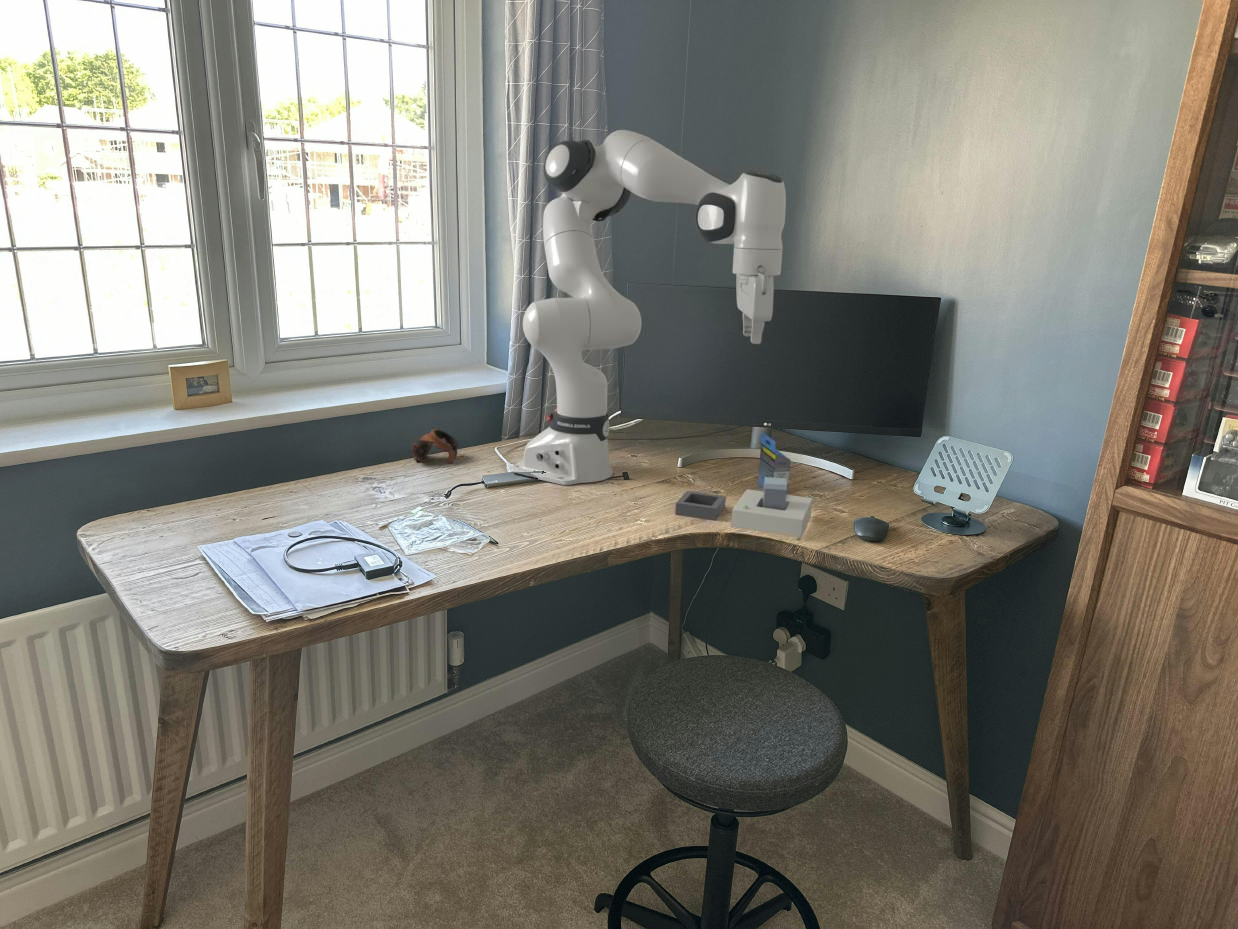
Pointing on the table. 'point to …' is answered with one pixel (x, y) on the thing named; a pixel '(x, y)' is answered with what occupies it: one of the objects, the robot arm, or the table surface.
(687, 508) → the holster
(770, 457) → the label tape cartridge
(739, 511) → the panel
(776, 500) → the plug
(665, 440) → the table surface
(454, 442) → the orange curved piece
